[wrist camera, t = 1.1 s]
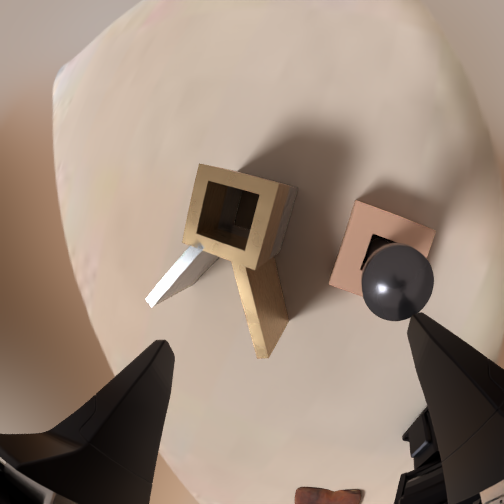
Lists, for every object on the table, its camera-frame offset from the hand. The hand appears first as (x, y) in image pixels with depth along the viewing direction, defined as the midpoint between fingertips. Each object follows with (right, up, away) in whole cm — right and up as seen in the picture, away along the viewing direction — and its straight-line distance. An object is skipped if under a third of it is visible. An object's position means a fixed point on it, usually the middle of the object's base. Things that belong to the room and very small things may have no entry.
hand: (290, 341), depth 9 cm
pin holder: (+8, +3, +10) cm, 13 cm away
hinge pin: (+8, +3, +10) cm, 13 cm away
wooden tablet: (+11, -42, +19) cm, 48 cm away
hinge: (-2, +4, +13) cm, 14 cm away
